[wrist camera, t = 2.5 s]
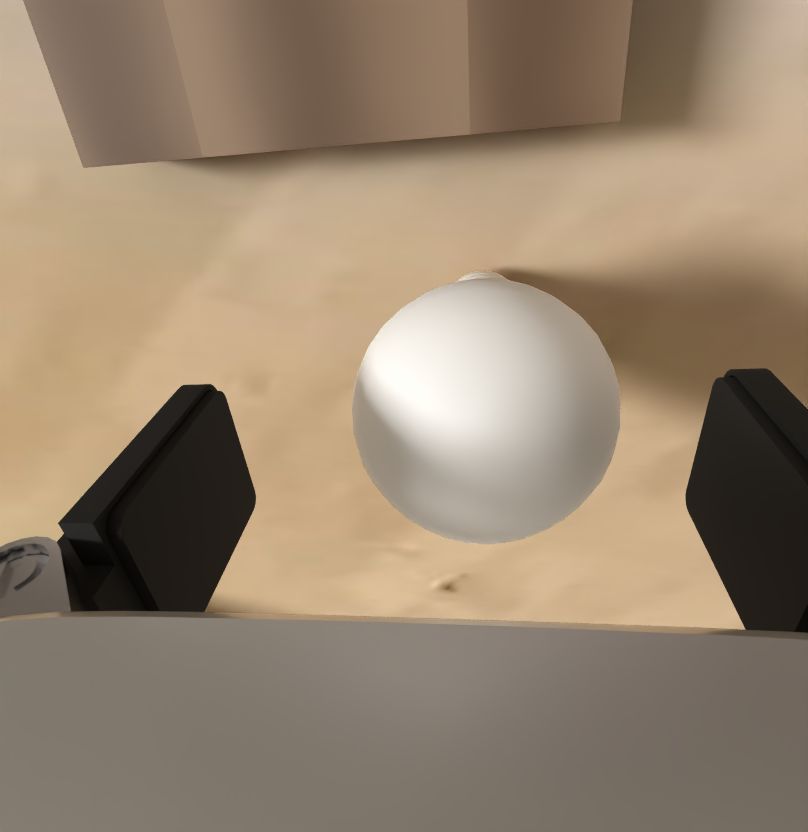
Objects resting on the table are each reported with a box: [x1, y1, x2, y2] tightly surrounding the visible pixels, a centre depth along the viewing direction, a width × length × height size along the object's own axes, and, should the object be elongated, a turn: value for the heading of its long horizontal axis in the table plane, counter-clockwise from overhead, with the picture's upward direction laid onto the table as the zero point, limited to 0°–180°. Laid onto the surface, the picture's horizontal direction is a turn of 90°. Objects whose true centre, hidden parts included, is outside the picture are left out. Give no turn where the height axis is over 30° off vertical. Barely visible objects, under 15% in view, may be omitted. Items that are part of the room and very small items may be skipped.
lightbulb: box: [352, 270, 620, 544], centre depth 15 cm, size 6×6×11 cm
